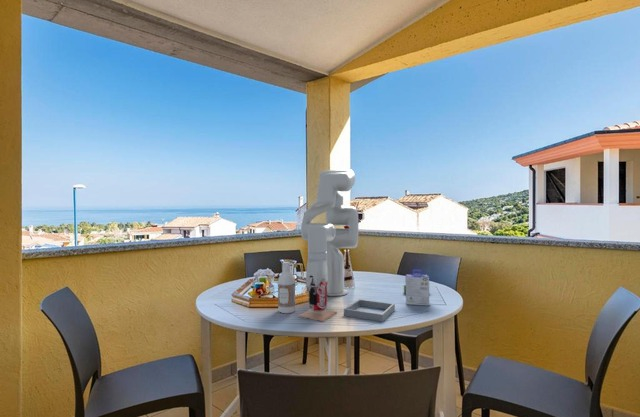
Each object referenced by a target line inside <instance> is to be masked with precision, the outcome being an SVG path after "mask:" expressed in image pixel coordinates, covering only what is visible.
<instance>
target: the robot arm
mask: <svg viewBox="0 0 640 417" xmlns="http://www.w3.org/2000/svg"><path fill="white" fill-rule="evenodd" d="M318 179H319V180H318V186H317V193H316V200H315V202H314V203H312V204H311V205H310V206H309V207H308V208H307V210H306V211H305V212H304V214H303V218H302V223H301V226H300V228H301V229H300V235H301V236H300V237H301V238H302V240H304V241H306V242H307V263H306V272H305V288H306V289H307V292H308V304H313V305H317V294H316V291H317V287H318V286H319V284H320V282H321V281H322V280H325V282H326V283H327V297H328V296H329V297H341V296H345V295H347V294H348V289H346V288H345V258H344V257H345V256H344V254H343V253H342V251H341V250H340V249H356V248H357V247H358V244H359V212H358V209H357V207H355V206H351V205H347V206H346V205H344V196H343V194H342V192H349V191H351V189H352V188H353V186H354V185H355V181H356V175H355V172H354V171H353V170H352V169H349V168H348V169H327V170H323V171H321V172H320V173H319V175H318ZM324 213H325V222H324V223H322V222H312V220H314V219H315V218H316V217H317V216H319V215H322V214H324ZM335 226H338V227H339V228H336V227H335ZM340 226H341V227H340ZM342 227H348V228H342ZM312 284H315V286H312ZM312 288H314V290H313V289H312Z"/></svg>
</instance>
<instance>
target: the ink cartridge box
mask: <svg viewBox="0 0 640 417" xmlns="http://www.w3.org/2000/svg"><path fill="white" fill-rule="evenodd" d="M405 285H406V294H405V305H409V306H410V305H412V306H413V305H414V306H430V276H429V274H422V269H412V274H405Z"/></svg>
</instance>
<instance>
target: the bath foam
mask: <svg viewBox="0 0 640 417" xmlns="http://www.w3.org/2000/svg"><path fill="white" fill-rule="evenodd" d="M277 289H278V290H277V300H278V301H277V306H278V308H277V309H278V310H277V311H278V312H279V313H280V312H281V314H291V313H292V314H293V313H295V311H296V280H295V277H294V275H293V273H292V272H291V262H290V261H283V262H282V272H281V273H280V275H279V277H278V280H277Z"/></svg>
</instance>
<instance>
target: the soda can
mask: <svg viewBox="0 0 640 417" xmlns="http://www.w3.org/2000/svg"><path fill="white" fill-rule="evenodd" d="M312 286H315V284H312ZM312 289H313V290H314V288H312ZM316 294H317V305H313V304H309V303H308V304H309V309H311V310H312V311H315V312H321V311H324V310H327V308H328V296H327V283H326V282H325V280H322V281H321V282H320V284H319V286H318V287H317V291H316Z"/></svg>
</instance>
